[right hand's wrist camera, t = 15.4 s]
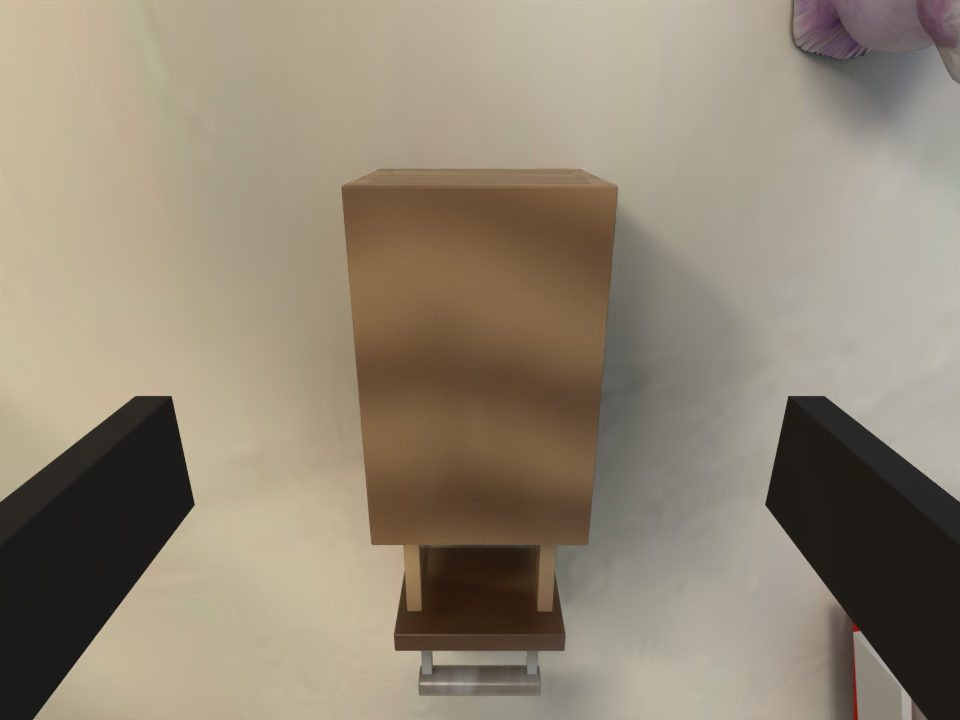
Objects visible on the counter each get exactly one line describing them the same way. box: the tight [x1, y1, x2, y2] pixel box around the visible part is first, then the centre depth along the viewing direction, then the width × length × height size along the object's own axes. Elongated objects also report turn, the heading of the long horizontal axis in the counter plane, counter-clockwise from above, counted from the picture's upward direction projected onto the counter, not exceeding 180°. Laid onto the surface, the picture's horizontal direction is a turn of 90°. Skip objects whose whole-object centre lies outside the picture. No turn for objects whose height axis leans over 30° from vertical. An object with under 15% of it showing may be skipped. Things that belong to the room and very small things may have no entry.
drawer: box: [394, 545, 565, 696], centre depth 33 cm, size 21×9×7 cm, turn 0°
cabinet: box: [342, 169, 618, 545], centre depth 29 cm, size 17×10×9 cm, turn 0°
